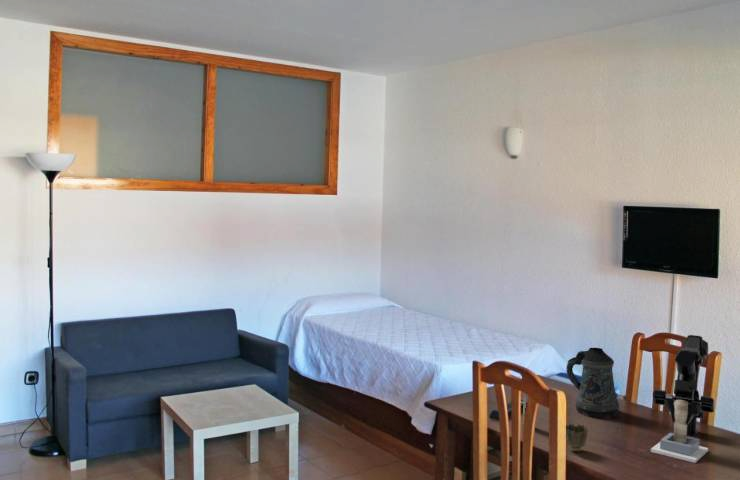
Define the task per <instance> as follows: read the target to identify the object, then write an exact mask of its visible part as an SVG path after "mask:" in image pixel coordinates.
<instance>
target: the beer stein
mask: <svg viewBox="0 0 740 480" xmlns="http://www.w3.org/2000/svg"><path fill="white" fill-rule="evenodd" d="M614 361H615V360H614V359H613V358H612V357H611V356H610V355H608V354H607V353H606V352H605V351H604V350H603V348H601V347H589V348H588V349H587V350H580V351H578V352H577V354H576V355H575V356H574V357H572V358H570V359H569V360H568V361H567V364H566V369H565V370H566V375H567V377H568V379H569V380H570V383H572V384H573V386H574V387H575V388H576V389H577V390H578V394H577V397H576V399H575V402H574V403H575V409H576V411H578V412H577V413H578V414H580V415H582V416H587V417H589V418H597V419H611V418H615V417H616V416H618V415H619V410H620V403H619V401H618V398H617V395H616V394H617V393H616V389H615V388H616V387H615V381H614V380H615V379H614V372H613V367H614V363H615V362H614ZM575 365H577V366H580V365H582V372H581V377H580V378H581V380H580V381H579V379H577V377H576V375H575V373H574V372H573V369H574V366H575Z"/></svg>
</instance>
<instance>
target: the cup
mask: <svg viewBox="0 0 740 480" xmlns="http://www.w3.org/2000/svg"><path fill="white" fill-rule="evenodd" d="M565 426H566V435H565V441H566V443H567V444H568V445H569V448H570V450H571V451H572V452H575V453H579V452H581V451H582V450H583V449H582V447H584V446H585V445H586V442H587V440H588V433H589V429H588V428H587V426H585V425H584V424H581V425H580V424H578V425H577V426H576V425H575V424H574V423H573V424H571V423H569V424H566V425H565Z"/></svg>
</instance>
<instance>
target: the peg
mask: <svg viewBox="0 0 740 480" xmlns="http://www.w3.org/2000/svg"><path fill="white" fill-rule="evenodd" d="M674 407H675V413H674V423H673V434H674V437H673V441H674V442H678V443H682V444H686V442H687V437H688V436H687V435H688V434H687V417H688V402H687V401H685V400H675V402H674Z"/></svg>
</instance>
